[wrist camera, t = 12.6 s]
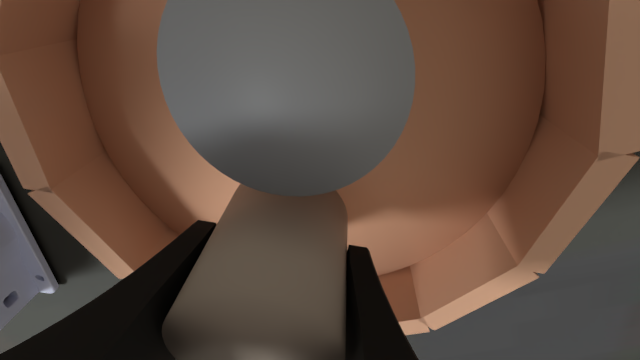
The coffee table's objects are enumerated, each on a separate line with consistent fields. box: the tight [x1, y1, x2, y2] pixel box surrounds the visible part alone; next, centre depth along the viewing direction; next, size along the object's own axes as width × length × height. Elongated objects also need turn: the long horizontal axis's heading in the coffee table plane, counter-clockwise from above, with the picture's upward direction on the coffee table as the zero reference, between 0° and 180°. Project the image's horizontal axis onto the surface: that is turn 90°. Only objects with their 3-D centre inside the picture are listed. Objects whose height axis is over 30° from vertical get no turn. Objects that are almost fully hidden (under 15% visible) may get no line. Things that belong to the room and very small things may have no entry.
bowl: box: [0, 0, 640, 335], centre depth 11 cm, size 18×18×4 cm
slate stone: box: [157, 0, 415, 197], centre depth 7 cm, size 4×4×5 cm
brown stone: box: [162, 184, 348, 360], centre depth 9 cm, size 4×4×5 cm
